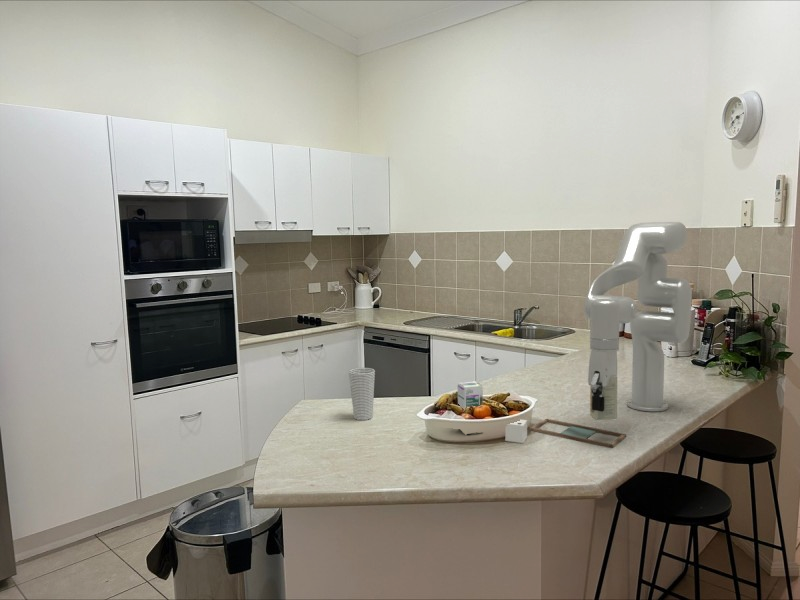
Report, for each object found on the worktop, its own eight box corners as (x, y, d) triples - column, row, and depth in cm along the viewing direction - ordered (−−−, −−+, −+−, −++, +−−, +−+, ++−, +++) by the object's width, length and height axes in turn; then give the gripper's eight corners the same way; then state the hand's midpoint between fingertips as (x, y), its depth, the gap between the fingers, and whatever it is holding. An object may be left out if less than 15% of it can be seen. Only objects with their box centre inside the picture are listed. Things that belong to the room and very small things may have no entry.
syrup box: (465, 435, 168) (464, 386, 166) (457, 429, 173) (457, 382, 172) (483, 433, 169) (483, 385, 167) (475, 427, 175) (475, 380, 173)
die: (509, 435, 167) (509, 418, 166) (527, 437, 165) (527, 419, 164) (505, 440, 163) (505, 423, 162) (523, 443, 160) (523, 425, 160)
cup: (360, 412, 192) (358, 366, 191) (381, 415, 188) (380, 369, 186) (344, 419, 185) (343, 372, 183) (366, 423, 181) (365, 374, 179)
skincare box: (611, 415, 164) (612, 372, 162) (617, 420, 159) (618, 376, 158) (588, 415, 163) (589, 373, 162) (594, 420, 159) (595, 377, 158)
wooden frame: (546, 421, 179) (546, 418, 178) (626, 436, 163) (626, 434, 163) (530, 430, 170) (530, 427, 170) (612, 448, 155) (612, 445, 155)
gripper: (602, 338, 168) (601, 398, 170) (578, 347, 155) (577, 412, 157) (628, 340, 163) (627, 402, 165) (606, 350, 150) (605, 417, 152)
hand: (603, 406), depth 161 cm, fingers closed on skincare box, 7 cm apart
